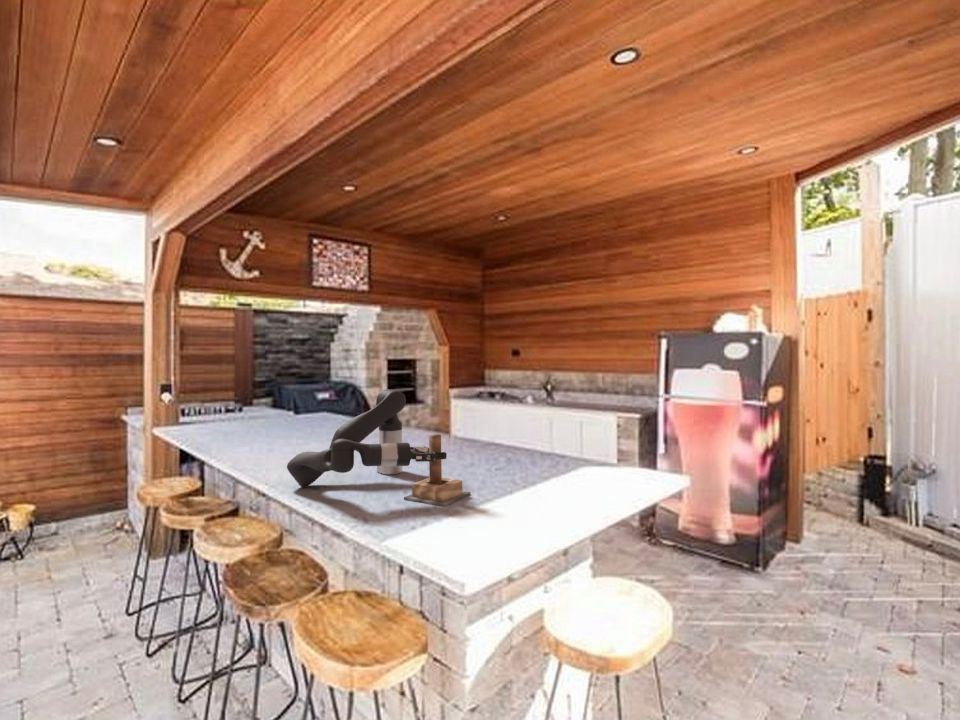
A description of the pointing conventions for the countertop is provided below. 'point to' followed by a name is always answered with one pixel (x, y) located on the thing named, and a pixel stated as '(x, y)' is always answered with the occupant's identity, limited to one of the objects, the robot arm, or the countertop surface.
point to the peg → (436, 464)
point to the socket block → (437, 492)
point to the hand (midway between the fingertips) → (443, 453)
